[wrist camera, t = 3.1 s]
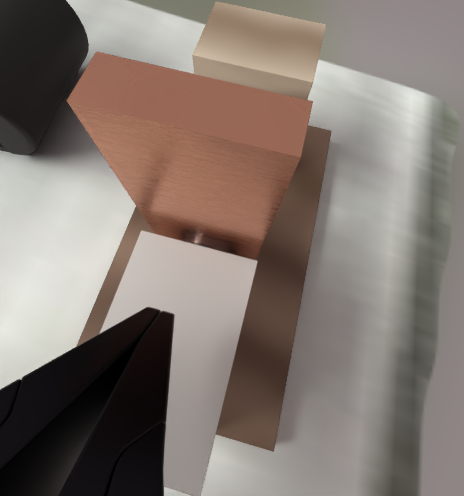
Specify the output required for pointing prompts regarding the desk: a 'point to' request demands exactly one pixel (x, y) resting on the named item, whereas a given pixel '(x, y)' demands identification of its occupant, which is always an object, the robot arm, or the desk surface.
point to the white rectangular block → (189, 339)
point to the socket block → (259, 50)
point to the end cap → (36, 67)
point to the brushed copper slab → (194, 149)
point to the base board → (254, 302)
